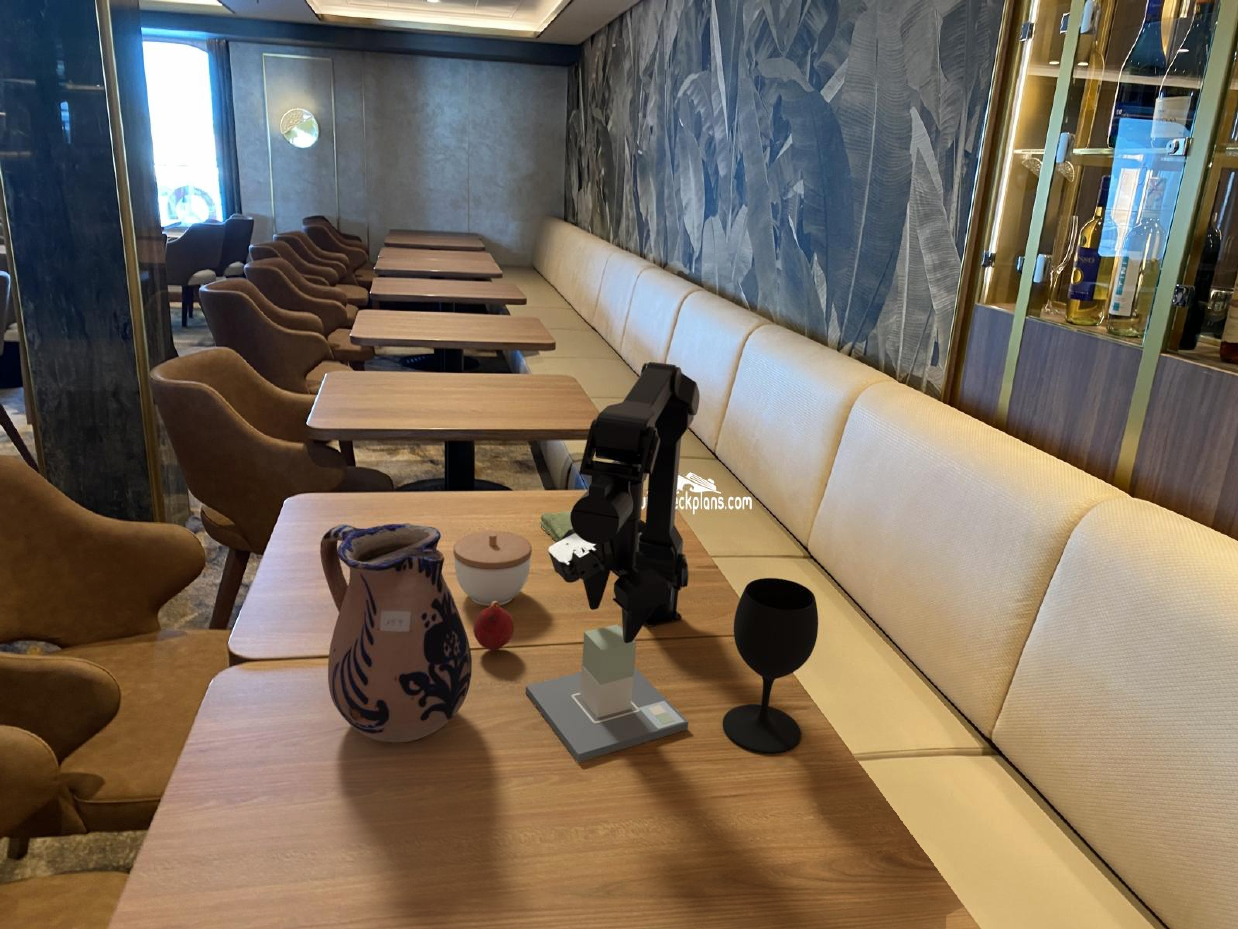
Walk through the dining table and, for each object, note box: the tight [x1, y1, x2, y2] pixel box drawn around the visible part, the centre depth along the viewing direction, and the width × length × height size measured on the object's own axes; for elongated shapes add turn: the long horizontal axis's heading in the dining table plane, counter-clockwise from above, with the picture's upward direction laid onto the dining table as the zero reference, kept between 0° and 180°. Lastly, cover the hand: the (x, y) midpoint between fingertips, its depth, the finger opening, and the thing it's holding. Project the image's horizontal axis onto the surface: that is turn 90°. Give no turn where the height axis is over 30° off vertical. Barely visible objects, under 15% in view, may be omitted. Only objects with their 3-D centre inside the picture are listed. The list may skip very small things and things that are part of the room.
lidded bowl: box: [453, 530, 533, 607], centre depth 144 cm, size 13×13×11 cm
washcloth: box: [539, 510, 573, 543], centre depth 171 cm, size 13×18×3 cm
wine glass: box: [722, 577, 819, 755], centre depth 112 cm, size 10×10×20 cm
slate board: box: [525, 666, 689, 763], centre depth 117 cm, size 16×16×1 cm
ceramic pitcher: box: [319, 522, 473, 743], centre depth 109 cm, size 18×21×25 cm
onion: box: [473, 601, 515, 652], centre depth 128 cm, size 6×6×8 cm
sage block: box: [581, 624, 637, 685], centre depth 114 cm, size 5×5×5 cm
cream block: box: [580, 664, 633, 718], centre depth 116 cm, size 5×5×5 cm
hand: (610, 625), depth 113 cm, fingers open, 9 cm apart
